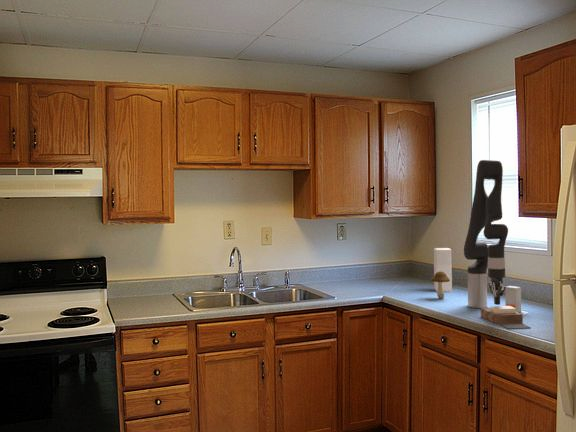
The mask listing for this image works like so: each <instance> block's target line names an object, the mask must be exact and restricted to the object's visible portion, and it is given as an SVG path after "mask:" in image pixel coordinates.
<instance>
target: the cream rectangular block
mask: <svg viewBox="0 0 576 432" xmlns="http://www.w3.org/2000/svg"><path fill="white" fill-rule="evenodd" d="M489 308H490V309H491V311H492V312H494V313H496V314H504V313H516V308H513V307H511V306H506V305H495V306H490V307H489Z"/></svg>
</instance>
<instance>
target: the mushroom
mask: <svg viewBox="0 0 576 432" xmlns="http://www.w3.org/2000/svg"><path fill="white" fill-rule="evenodd" d="M429 280H430V281H432V282H433V283H434V282H438V290H437V291H436V292H437V294H436V295H437V297H438V299H440V300H442V299H444V298H445V293H444V292H443V289H442V282H449V281H450V279H449V278H448V277H447V275H446V274H445V273H444V272H437V273H436V274H435V276H434V275H433V276H432V277H431V278H430V279H429Z"/></svg>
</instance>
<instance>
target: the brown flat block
mask: <svg viewBox="0 0 576 432" xmlns="http://www.w3.org/2000/svg"><path fill="white" fill-rule="evenodd" d="M523 315H524V314H522V312H516V313H504V314H496V313H494V312H492V311H491V309H490V307H485V308H480V317H482V318H484V319H485V320H488V321H489V322H491V323H492V324H494V325H499V324H503V323H523V322H524V321H523V317H524V316H523ZM523 324H524V323H523Z"/></svg>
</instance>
